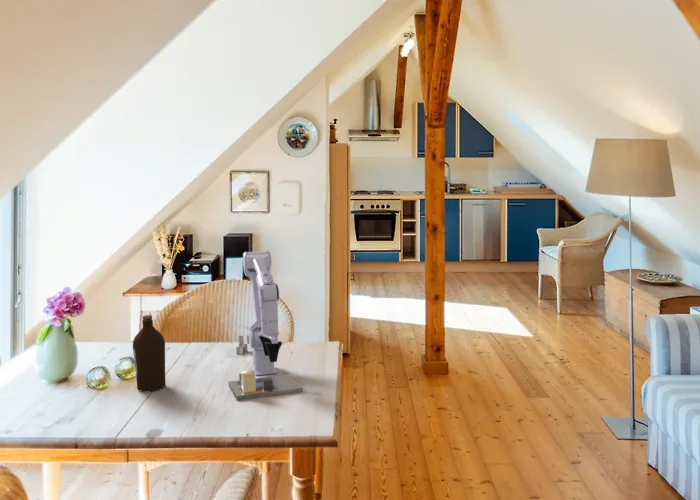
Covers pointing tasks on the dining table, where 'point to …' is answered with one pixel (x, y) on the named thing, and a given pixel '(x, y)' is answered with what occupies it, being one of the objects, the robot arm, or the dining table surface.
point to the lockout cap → (248, 380)
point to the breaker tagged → (267, 383)
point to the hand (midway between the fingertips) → (270, 358)
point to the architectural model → (242, 345)
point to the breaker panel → (280, 387)
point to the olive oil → (149, 357)
